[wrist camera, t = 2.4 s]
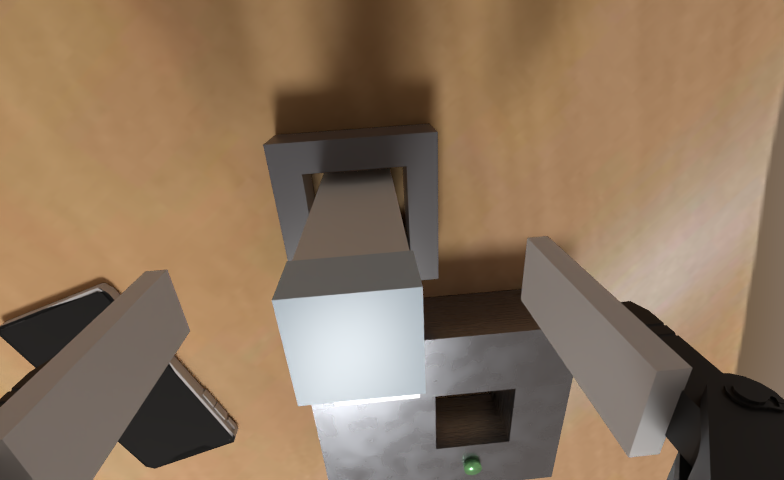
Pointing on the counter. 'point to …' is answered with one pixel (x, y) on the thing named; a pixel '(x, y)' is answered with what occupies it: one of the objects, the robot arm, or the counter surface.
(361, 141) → the grey square ring
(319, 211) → the plug
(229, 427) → the smartphone
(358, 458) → the panel
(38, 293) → the counter surface
